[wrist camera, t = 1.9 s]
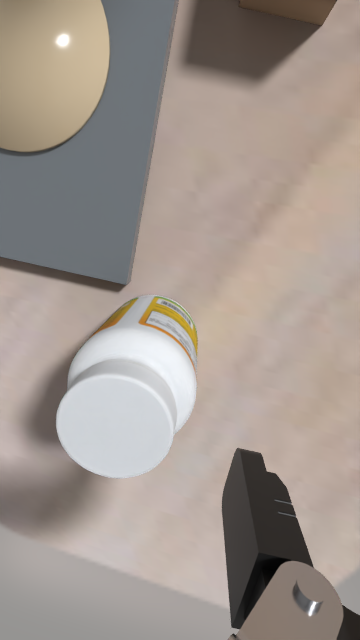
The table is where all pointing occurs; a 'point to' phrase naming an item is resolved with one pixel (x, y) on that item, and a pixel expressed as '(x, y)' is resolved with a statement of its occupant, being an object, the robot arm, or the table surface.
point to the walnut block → (293, 8)
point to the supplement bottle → (130, 389)
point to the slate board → (79, 128)
